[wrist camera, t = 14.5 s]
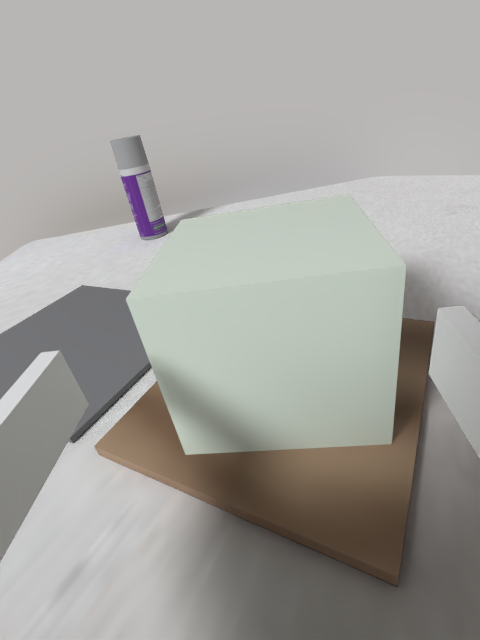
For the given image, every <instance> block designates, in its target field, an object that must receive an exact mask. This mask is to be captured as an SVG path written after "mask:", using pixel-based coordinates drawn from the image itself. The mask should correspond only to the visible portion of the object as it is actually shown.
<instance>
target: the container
mask: <svg viewBox="0 0 480 640" xmlns="http://www.w3.org/2000/svg"><path fill="white" fill-rule="evenodd" d="M111 145H112V149H113V152H114V155H115V159H116V162H117V165H118V169H119V172H120V176H121V178H122V182H123V185H124V188H125V191H126V194H127V197H128V200H129V203H130V206H131V209H132V212H133V215H134V218H135V222H136V225H137V228H138V231H139V234H140V237H141V239H143V240H151V239H156V238H159V237H162V236H164V235H166V234H167V233H168V231H167V227H166V224H165V220H164V216H163V213H162V210H161V206H160V202H159V199H158V195H157V191H156V188H155V185H154V181H153V177H152V174H151V170H150V167H149V164H148V160H147V157H146V154H145V151H144V147H143V144H142V141H141V138H140V135H137V136H132V137H127V138H121V139H117V140H113V141H111Z"/></svg>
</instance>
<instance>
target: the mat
mask: <svg viewBox="0 0 480 640" xmlns="http://www.w3.org/2000/svg"><path fill="white" fill-rule="evenodd" d="M130 292H131V291H127V290H119V289H110V288H101V287H92V286H83V285H82V286H80V287H79V288H77V289H75V290H74V291H72V292H70V293H69V294H67V295H65V296H64V297H62V298H60V299H59V300H57V301H55V302H54V303H52V304H50V305H49V306H47V307H45V308H43V309H42V310H40V311H38V312H37V313H35V314H33V315H32V316H30V317H28V318H27V319H25V320H23V321H22V322H20V323H18V324H17V325H15V326H13V327H12V328H10V329H8V330H7V331H5V332H3V333H1V334H0V399H1V398H2V397H3V396H4V395H5V394H6V392H7V391H8V390H9V389H10V388H11V387H12V386H13V384H14V383H15V382H16V381H17V380H18V379H19V377H20V376H21V375H22V374H23V373H24V372H25V370H26V369H27V368H28V367H29V366H30V365H31V363H32V362H33V361H34V360H35V359H36V358H37V356H38V355H39V354H40V353H41V352H50V351H59V350H60V352H61V353H62V355H63V357H64V359H65V361H66V363H67V364H68V366H69V368H70V370H71V372H72V374H73V376H74V377H75V379H76V381H77V383H78V385H79V387H80V388H81V390H82V392H83V394H84V396H85V398H86V400H87V401H88V403H89V405H88V407H87V408H86V410H85V412H84V414H83V416H82V417H81V419H80V421H79V423H78V424H77V426H76V428H75V430H74V432H73V433H72V435H71V437H70V439H69V442H71V443H74V442H75V441H76V440H77V439H78V438H79V437H80V436H81V435H82V434H83V433H84V432H85V431H86V430H87V429H88V428H89V427H90V426H91V425H92V424H93V423H94V422H95V421H96V420H97V419H98V418H99V417H100V416H101V415H102V414H103V413H104V412H105V411H106V410H108V409H109V408H110V407H111V406H112V405H113V404H114V403H115V402H116V401H117V400H118V399H119V398H120V397H121V396H122V395H123V394H124V393H125V392H126V391H127V390H128V389H129V388H130V387H131V386H132V385H133V384H134V383H135V382H136V381H137V380H138V379H139V378H140V377H141V376H142V375H143V374H144V373H145V372H146V371H147V370H148V369H149V368H151V367H152V366H151V364H150V361H149V359H148V356H147V353H146V351H145V348H144V346H143V343H142V340H141V338H140V335H139V333H138V330H137V327H136V325H135V322H134V320H133V317H132V314H131V312H130V309H129V307H128V304H127V301H126V298H127V296H128V295H129V294H130Z"/></svg>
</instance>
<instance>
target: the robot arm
mask: <svg viewBox="0 0 480 640" xmlns="http://www.w3.org/2000/svg"><path fill="white" fill-rule="evenodd" d="M429 375H430V377H431V379H432V380H433V382H434V384H435V385H436V387H437V389H438V390H439V392H440V394H441V395H442V397H443V399H444V400H445V402H446V404H447V405H448V407H449V409H450V410H451V412H452V414H453V416H454V417H455V419H456V421H457V422H458V424H459V426H460V427H461V429H462V431H463V432H464V434H465V436H466V437H467V439H468V441H469V442H470V444H471V446H472V447H473V449H474V451H475V452H476V454H477V456H478V457H479V459H480V322H479V321H478V320H477V319H476V318H475V316H474V315H473V314H472V313H471V312H470V311H469V310H468V309H467V308H466V307H465V306H464V305H459V306H451V307H442V308H438V310H437V317H436V324H435V331H434V338H433V345H432V353H431V360H430V367H429ZM88 405H89V403H88V401H87V400H86V398H85V396H84V394H83V392H82V390H81V388H80V387H79V385H78V383H77V381H76V379H75V377H74V376H73V374H72V372H71V370H70V368H69V366H68V364H67V363H66V361H65V359H64V357H63V355H62V353H61V352H60V350H59V351H50V352H41V353H40V354H39V355H38V356H37V358H36V359H35V360H34V361H33V362H32V363H31V365H30V366H29V367H28V368H27V369H26V370H25V372H24V373H23V374H22V375H21V376H20V377H19V379H18V380H17V381H16V382H15V383H14V384H13V386H12V387H11V388H10V389H9V390H8V391H7V392H6V394H5V395H4V396H3V397H2V398H1V399H0V562H1V560H2V558H3V556H4V555H5V553H6V551H7V549H8V547H9V546H10V544H11V542H12V540H13V539H14V537H15V535H16V533H17V531H18V530H19V528H20V526H21V524H22V522H23V521H24V519H25V517H26V515H27V514H28V512H29V510H30V508H31V506H32V505H33V503H34V501H35V499H36V498H37V496H38V494H39V492H40V490H41V489H42V487H43V485H44V483H45V481H46V480H47V478H48V476H49V474H50V473H51V471H52V469H53V467H54V465H55V464H56V462H57V460H58V458H59V457H60V455H61V453H62V451H63V449H64V448H65V446H66V444H67V442H68V441H69V439H70V437H71V435H72V433H73V432H74V430H75V428H76V426H77V424H78V423H79V421H80V419H81V417H82V416H83V414H84V412H85V410H86V408H87V407H88Z"/></svg>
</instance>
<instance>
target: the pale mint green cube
mask: <svg viewBox="0 0 480 640" xmlns="http://www.w3.org/2000/svg"><path fill="white" fill-rule="evenodd" d="M405 277H406V264H405V262H404V261H403V260H402V259H401V257H400V256H399V255H398V254H397V252H396V251H395V250H394V249H393V247H392V246H391V245H390V244H389V242H388V241H387V240H386V239H385V238H384V236H383V235H382V234H381V233H380V231H379V230H378V229H377V228H376V226H375V225H374V224H373V223H372V221H371V220H370V219H369V218H368V216H367V215H366V214H365V213H364V211H363V210H362V209H361V208H360V207H359V205H358V204H357V203H356V202H355V200H354V199H353V198H352V197H351V195H350V194H346V195H339V196H333V197H326V198H320V199H313V200H307V201H300V202H294V203H287V204H281V205H274V206H268V207H261V208H255V209H248V210H241V211H235V212H228V213H222V214H215V215H209V216H202V217H196V218H189V219H183V220H181V221H180V222H179V224H178V225H177V226H176V228H175V229H174V231H173V232H172V234H171V235H170V236H169V238H168V239H167V241H166V242H165V244H164V245H163V246H162V248H161V249H160V251H159V252H158V254H157V255H156V256H155V258H154V259H153V261H152V262H151V264H150V265H149V266H148V268H147V269H146V271H145V272H144V274H143V275H142V276H141V278H140V279H139V281H138V282H137V284H136V285H135V286H134V288H133V289H132V291H131V292H130V294H129V295H128V296H127V298H126V301H127V304H128V307H129V309H130V312H131V314H132V317H133V320H134V322H135V325H136V327H137V330H138V333H139V335H140V338H141V340H142V343H143V346H144V348H145V351H146V353H147V356H148V359H149V361H150V364H151V366H152V369H153V372H154V374H155V377H156V379H157V382H158V385H159V387H160V390H161V392H162V395H163V398H164V400H165V403H166V405H167V408H168V411H169V413H170V416H171V418H172V421H173V424H174V426H175V429H176V431H177V434H178V437H179V439H180V442H181V444H182V447H183V450H184V452H185V455H192V454H211V453H230V452H250V451H269V450H288V449H307V448H327V447H346V446H365V445H385V444H392V436H393V423H394V411H395V399H396V387H397V375H398V363H399V350H400V338H401V326H402V314H403V302H404V290H405Z"/></svg>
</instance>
